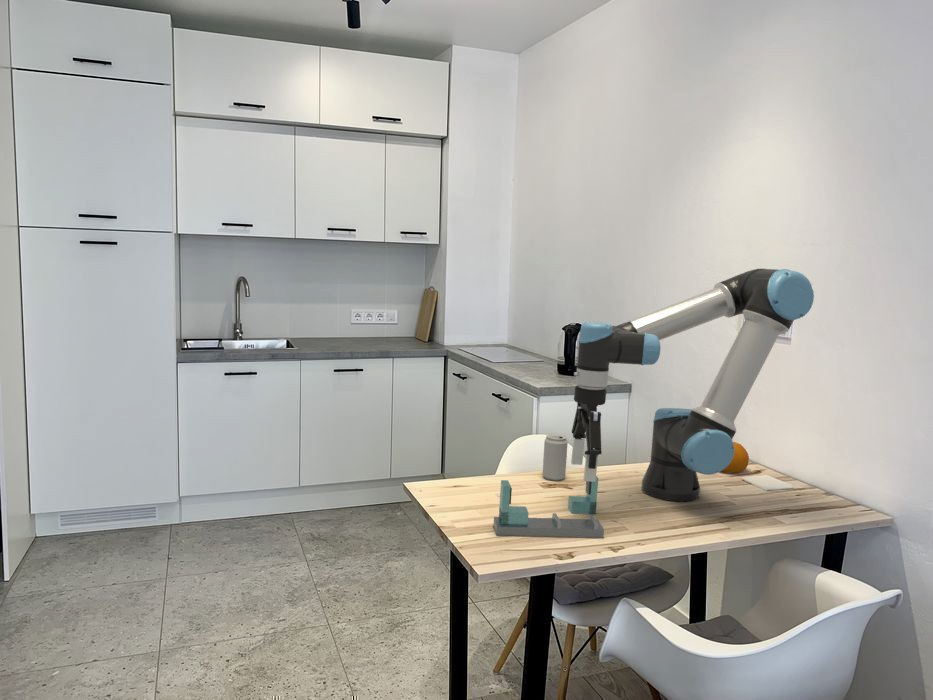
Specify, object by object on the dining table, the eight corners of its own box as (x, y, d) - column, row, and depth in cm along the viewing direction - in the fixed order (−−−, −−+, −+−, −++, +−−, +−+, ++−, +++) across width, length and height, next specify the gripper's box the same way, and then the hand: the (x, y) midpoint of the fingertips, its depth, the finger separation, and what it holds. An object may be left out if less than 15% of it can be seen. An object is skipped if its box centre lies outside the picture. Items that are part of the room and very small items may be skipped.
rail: (596, 527, 167) (600, 481, 166) (603, 537, 162) (607, 490, 160) (493, 525, 166) (496, 478, 164) (496, 535, 160) (499, 487, 158)
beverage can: (564, 482, 200) (567, 440, 198) (541, 480, 201) (543, 437, 200) (565, 475, 206) (568, 434, 205) (543, 473, 208) (546, 432, 206)
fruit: (742, 478, 213) (746, 445, 212) (702, 470, 219) (705, 438, 218) (751, 469, 223) (754, 438, 221) (712, 462, 229) (715, 431, 228)
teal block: (591, 508, 180) (594, 473, 179) (595, 514, 176) (598, 478, 175) (567, 507, 180) (570, 472, 179) (571, 513, 176) (573, 477, 175)
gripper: (564, 376, 186) (557, 457, 189) (587, 396, 162) (579, 488, 164) (593, 378, 187) (586, 458, 190) (620, 397, 162) (611, 489, 165)
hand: (582, 472), depth 177 cm, fingers open, 13 cm apart
